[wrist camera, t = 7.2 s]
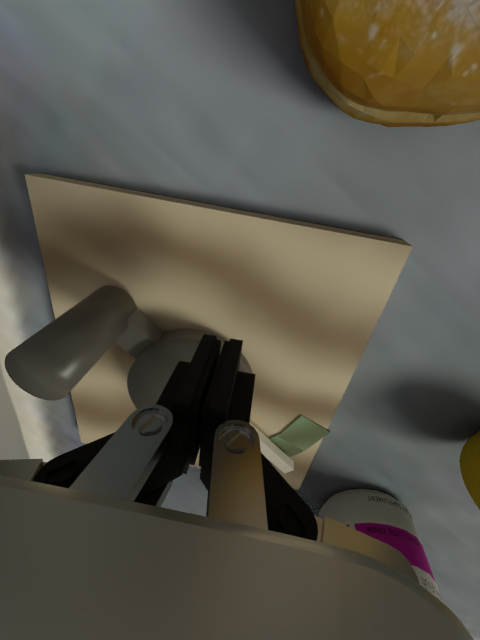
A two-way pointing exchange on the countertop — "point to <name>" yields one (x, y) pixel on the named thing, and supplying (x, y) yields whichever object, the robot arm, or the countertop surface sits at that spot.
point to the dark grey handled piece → (96, 338)
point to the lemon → (471, 467)
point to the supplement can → (382, 526)
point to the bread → (395, 58)
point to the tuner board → (220, 297)
